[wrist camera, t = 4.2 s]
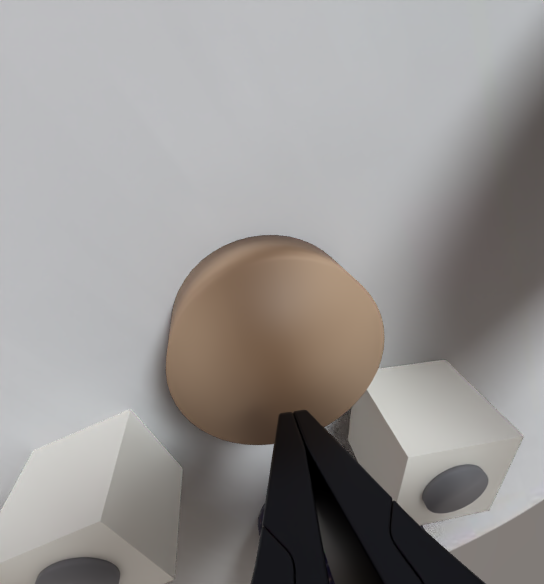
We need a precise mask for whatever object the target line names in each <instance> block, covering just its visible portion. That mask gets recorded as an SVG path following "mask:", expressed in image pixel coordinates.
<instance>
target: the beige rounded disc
mask: <svg viewBox="0 0 544 584" xmlns="http://www.w3.org/2000/svg"><path fill="white" fill-rule="evenodd" d="M383 349H384V326H383V322H382V318H381V314H380V312H379V309H378V307H377V305H376V303H375V302H374V300H373V298H372V297H371V295H370V294H369V293H368V292H367V291H366V289H365V288H364V287H363V286H362V285H361V284H360V283H359V282H358V281H357V280H355V279H354V278H353V277H352V276H351V275H350V274H349V273H348V272H347V271H346V270H344V269H343V268H342V267H341V266H340V265H339V264H338V263H337V262H336V261H335V260H333V259H332V258H331V257H330V256H329V255H328V254H326V253H325V252H324V251H323V250H321V249H319V248H318V247H316V246H314V245H312V244H310V243H308V242H305V241H303V240H300V239H296V238H292V237H287V236H279V235H262V236H254V237H248V238H245V239H241V240H237V241H235V242H232V243H230V244H227V245H225V246H223V247H221V248H219V249H218V250H216V251H214V252H212V253H211V254H210V255H208V256H207V257H206V258H204V259H203V260H202V261H201V262H200V263H199V264H198V265H197V266H196V267H195V268H194V269H193V270H192V271H191V272H190V274H189V275H188V276H187V277H186V279H185V280H184V282H183V284H182V286H181V287H180V289H179V291H178V294H177V296H176V299H175V302H174V306H173V311H172V317H171V325H170V333H169V341H168V348H167V356H166V377H167V384H168V387H169V390H170V394H171V396H172V398H173V400H174V402H175V404H176V406H177V407H178V408H179V410H180V411H181V412H182V414H183V415H184V416H185V417H186V418H187V419H188V420H189V421H190V422H191V423H192V424H194V425H195V426H196V427H198V428H199V429H200V430H202V431H204V432H206V433H208V434H210V435H212V436H214V437H217V438H219V439H222V440H225V441H229V442H233V443H239V444H247V445H266V444H274V442H275V435H276V429H277V422H278V416H279V414H280V413H284V412H292V413H293V412H294V411H297V410H303V409H305V410H307V411H308V412H309V413H310V414H311V415H312V416H313V417H314V418H315V419H316V420H317V421H318V422H319V423H320V424H321V425H322V426H323V427H325V426H327V425H329V424H330V423H332V422H333V421H335V420H336V419H338V418H339V417H341V416H342V415H343V414H344V413H345V412H347V411H348V410H349V409H350V408H351V407H352V406H353V405H354V404H355V403H356V402H357V401H358V400H359V399H360V398H361V396H362V395H363V394H364V393H365V391H366V390H367V388H368V387H369V385H370V384H371V382H372V380H373V378H374V376H375V375H376V373H377V370H378V368H379V365H380V362H381V358H382V354H383Z"/></svg>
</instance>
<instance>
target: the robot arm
mask: <svg viewBox="0 0 544 584" xmlns="http://www.w3.org/2000/svg"><path fill="white" fill-rule="evenodd" d="M324 552H325V555H326V558H327V561H328V564H329V567H330V570H331V573H332V576H333V579H334V582H335V584H486V583H484V582H483V581H482V580H481V579H480V578H479V577H477V576H476V575H475V574H474V573H473V572H471V571H470V570H469V569H468V568H467V567H466V566H465V565H463V564H462V563H461V562H460V561H459V560H458V559H456V558H455V557H454V556H453V555H452V554H450V552H448V551H447V550H446V549H445V548H444V547H443V546H442V545H440V544H439V543H438V542H437V541H436V540H435V539H434V538H433V537H432V536H430V535H429V534H428V533H427V532H426V531H425V530H424V529H423V528H422V527H421V526H420V525H419V524H418V523H417V522H416V521H415V520H414V519H413V518H412V517H411V516H410V515H409V514H407V513H406V512H405V510H404V509H403V508H402V507H401V506H400V505H399V504H398V503H397V502H396V501H395V500H393V501H392V497H391V496H390V495H389V494H388V493H387V492H386V491H385V490H384V489H383V488H382V487H381V486H380V485H379V484H378V483H377V482H376V481H375V480H374V479H373V478H372V477H371V476H370V474H369V473H368V472H367V471H366V470H365V469H364V468H363V467H362V466H361V465H360V464H359V463H358V462H357V461H356V460H355V459H354V458H353V457H352V456H351V455H350V454H349V453H348V452H347V451H346V450H345V449H344V448H343V447H342V446H341V445H340V444H339V443H338V441H337V440H336V439H335V438H334V437H333V436H332V435H331V434H330V433H329V432H328V431H327V430H326V429H325V428H324V427H323V426H322V425H321V424H320V423H319V422H318V421H317V420H316V419H315V418H314V417H313V416H312V415H311V414H310V413H309V412H308V411H307V410H305V409H303V410H297V411H294V412H293V413H292V412H284V413H280V414H279V416H278V422H277V429H276V435H275V442H274V449H273V455H272V462H271V468H270V475H269V482H268V488H267V495H266V502H265V508H264V515H263V521H262V528H261V534H260V540H259V547H258V552H257V557H256V563H255V568H254V573H253V577H252V581H251V584H330V583H329V577H328V572H327V566H326V560H325V555H324Z"/></svg>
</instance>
